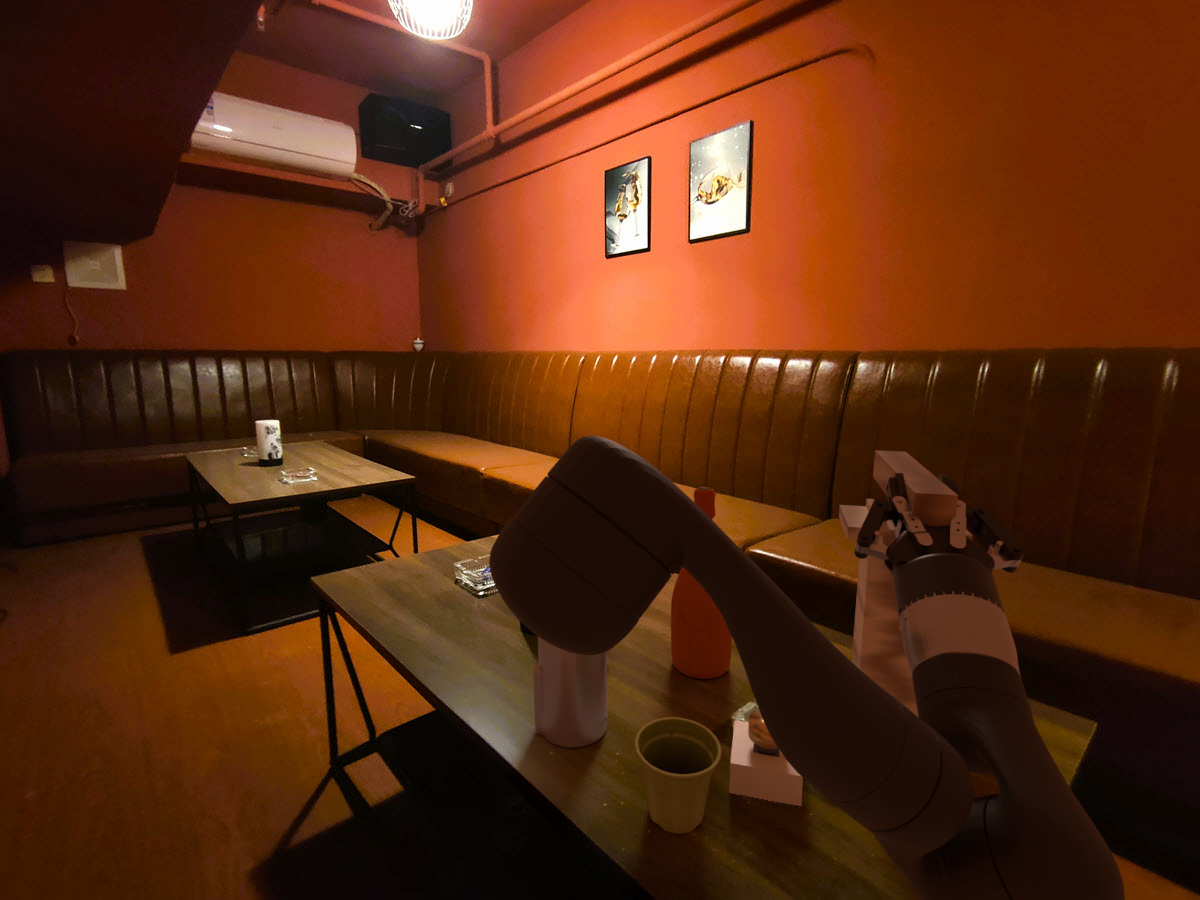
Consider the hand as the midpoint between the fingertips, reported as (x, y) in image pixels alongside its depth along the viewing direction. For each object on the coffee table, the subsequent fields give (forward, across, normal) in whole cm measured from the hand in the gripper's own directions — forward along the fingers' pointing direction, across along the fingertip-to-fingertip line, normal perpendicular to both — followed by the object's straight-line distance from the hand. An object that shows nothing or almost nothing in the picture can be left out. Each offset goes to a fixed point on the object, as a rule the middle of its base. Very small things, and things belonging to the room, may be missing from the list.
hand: (918, 480), depth 59 cm
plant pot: (-26, +23, +30) cm, 45 cm away
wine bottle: (+1, +24, +45) cm, 51 cm away
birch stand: (-13, 0, +36) cm, 39 cm away
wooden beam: (+2, 0, +5) cm, 6 cm away
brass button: (-16, +13, +31) cm, 37 cm away
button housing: (-18, +13, +34) cm, 40 cm away
